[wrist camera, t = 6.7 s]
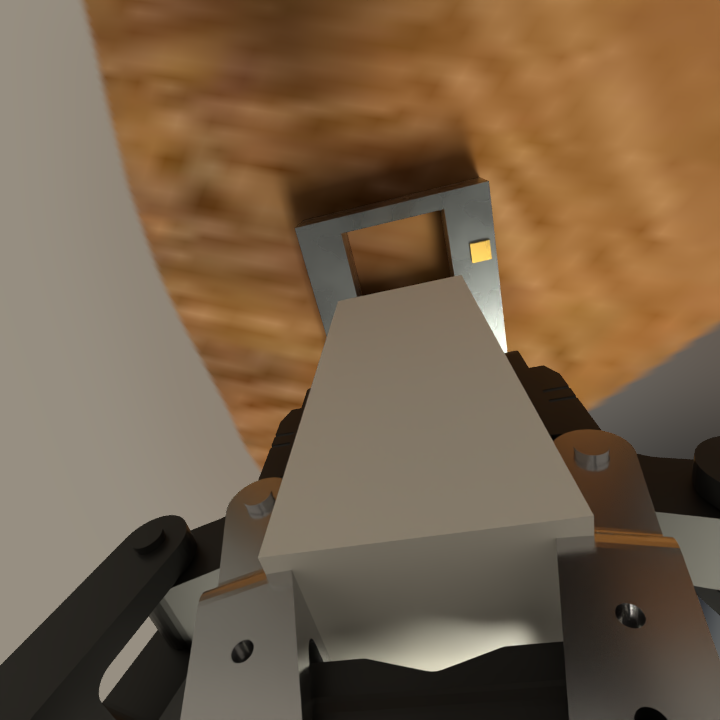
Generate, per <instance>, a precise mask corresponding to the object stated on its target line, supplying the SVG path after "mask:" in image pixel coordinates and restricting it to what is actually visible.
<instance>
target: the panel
mask: <svg viewBox="0 0 720 720" xmlns="http://www.w3.org/2000/svg"><path fill="white" fill-rule="evenodd" d="M438 210H440V211H441V218H442V224H443V230H444V237H445V243H446V250H447V256H448V263H449V269H450V276H451V277H454V276H458V275H462V277H463V279H464V281H465V282H466V284H467V286H468V288H469V290H470V291H471V293H472V295H473V297H474V299H475V301H476V302H477V304H478V306H479V308H480V310H481V311H482V313H483V315H484V317H485V319H486V321H487V322H488V324H489V326H490V328H491V330H492V331H493V333H494V335H495V337H496V339H497V341H498V342H499V344H500V346H501V348H502V350H503V351H504V353H507V346H506V337H505V327H504V318H503V309H502V299H501V290H500V281H499V271H498V262H497V253H496V244H495V234H494V225H493V216H492V206H491V197H490V188H489V181H487V180H485V179H482V178H480V177H479V178H475V179H470V180H466V181H462V182H458V183H454V184H450V185H446V186H442V187H438V188H434V189H430V190H426V191H422V192H417V193H413V194H409V195H405V196H401V197H397V198H393V199H389V200H385V201H381V202H377V203H373V204H369V205H364V206H360V207H356V208H352V209H348V210H344V211H340V212H336V213H332V214H328V215H324V216H320V217H316V218H311V219H307V220H303V221H302V222H301V223H300V224H299V225H298V226H297V227H296V228H295V230H296V234H297V237H298V241H299V244H300V247H301V251H302V254H303V258H304V261H305V264H306V268H307V271H308V275H309V278H310V281H311V285H312V288H313V292H314V295H315V298H316V302H317V305H318V309H319V312H320V315H321V319H322V322H323V326H324V329H325V332H326V336H327V335H328V332H329V329H330V326H331V322H332V319H333V316H334V313H335V310H336V306H337V303H338V301H341V300H346V299H350V298H355V297H360V296H362V291H361V287H360V283H359V279H358V275H357V271H356V267H355V263H354V259H353V255H352V251H351V247H350V243H349V239H348V235H347V232H349V231H354V230H358V229H362V228H366V227H371V226H375V225H379V224H383V223H387V222H392V221H396V220H400V219H404V218H408V217H413V216H417V215H421V214H425V213H429V212H434V211H438Z"/></svg>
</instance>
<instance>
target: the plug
mask: <svg viewBox="0 0 720 720" xmlns="http://www.w3.org/2000/svg"><path fill="white" fill-rule="evenodd" d="M579 536H594V515H593V513H592V511H591V509H590V508H589V506H588V504H587V502H586V500H585V499H584V497H583V495H582V493H581V491H580V489H579V488H578V486H577V484H576V482H575V480H574V479H573V477H572V475H571V473H570V471H569V470H568V468H567V466H566V464H565V462H564V460H563V459H562V457H561V455H560V453H559V451H558V450H557V448H556V446H555V444H554V442H553V440H552V439H551V437H550V435H549V433H548V431H547V430H546V428H545V426H544V424H543V422H542V420H541V419H540V417H539V415H538V413H537V411H536V410H535V408H534V406H533V404H532V402H531V400H530V399H529V397H528V395H527V393H526V391H525V390H524V388H523V386H522V384H521V382H520V380H519V379H518V377H517V375H516V373H515V371H514V370H513V368H512V366H511V364H510V362H509V361H508V359H507V357H506V355H505V353H504V351H503V350H502V348H501V346H500V344H499V342H498V341H497V339H496V337H495V335H494V333H493V331H492V330H491V328H490V326H489V324H488V322H487V321H486V319H485V317H484V315H483V313H482V311H481V310H480V308H479V306H478V304H477V302H476V301H475V299H474V297H473V295H472V293H471V291H470V290H469V288H468V286H467V284H466V282H465V281H464V279H463V277H462V275H458V276H454V277H449V278H444V279H440V280H435V281H430V282H426V283H421V284H416V285H412V286H407V287H402V288H397V289H393V290H388V291H383V292H379V293H374V294H369V295H365V296H360V297H355V298H350V299H346V300H341V301H338V303H337V306H336V310H335V313H334V316H333V319H332V322H331V326H330V329H329V332H328V335H327V338H326V342H325V345H324V348H323V351H322V354H321V358H320V361H319V364H318V367H317V370H316V374H315V377H314V380H313V383H312V386H311V390H310V393H309V396H308V399H307V402H306V406H305V409H304V412H303V415H302V418H301V422H300V425H299V428H298V431H297V434H296V438H295V441H294V444H293V447H292V450H291V454H290V457H289V460H288V463H287V466H286V470H285V473H284V476H283V479H282V482H281V486H280V489H279V492H278V495H277V498H276V501H275V505H274V508H273V511H272V514H271V517H270V521H269V524H268V527H267V530H266V533H265V537H264V540H263V543H262V546H261V549H260V553H259V556H258V559H259V561H260V563H261V565H262V568H263V570H264V572H265V574H271V573H277V572H283V571H289V570H292V572H293V574H294V576H295V578H296V581H297V583H298V585H299V588H300V590H301V592H302V594H303V597H304V599H305V601H306V604H307V606H308V608H309V611H310V613H311V615H312V617H313V620H314V622H315V624H316V627H317V629H318V631H319V633H320V636H321V638H322V640H323V643H324V645H325V647H326V650H327V652H328V654H329V656H330V659H331V661H339V660H351V659H363V658H365V659H370V660H375V661H380V662H385V663H390V664H395V665H400V666H405V667H410V668H415V669H420V670H424V671H439V670H443V669H445V668H448V667H451V666H453V665H456V664H459V663H461V662H464V661H467V660H469V659H472V658H475V657H477V656H480V655H483V654H485V653H488V652H491V651H493V650H496V649H499V648H501V647H504V646H514V645H526V644H538V643H549V642H561V641H563V633H562V618H561V604H560V590H559V576H558V562H557V548H556V538H566V537H579Z"/></svg>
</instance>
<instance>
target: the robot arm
mask: <svg viewBox="0 0 720 720" xmlns="http://www.w3.org/2000/svg"><path fill="white" fill-rule="evenodd" d="M505 355H506V357H507V359H508V361H509V362H510V364H511V366H512V368H513V370H514V371H515V373H516V375H517V377H518V379H519V380H520V382H521V384H522V386H523V388H524V390H525V391H526V393H527V395H528V397H529V399H530V400H531V402H532V404H533V406H534V408H535V410H536V411H537V413H538V415H539V417H540V419H541V420H542V422H543V424H544V426H545V428H546V430H547V431H548V433H549V435H550V437H551V439H552V440H553V442H554V444H555V446H556V448H557V450H558V451H559V453H560V455H561V457H562V459H563V460H564V462H565V464H566V466H567V468H568V470H569V471H570V473H571V475H572V477H573V479H574V480H575V482H576V484H577V486H578V488H579V489H580V491H581V493H582V495H583V497H584V499H585V500H586V502H587V504H588V506H589V508H590V509H591V511H592V513H593V515H594V536H579V537H566V538H556V548H557V562H558V576H559V590H560V604H561V618H562V633H563V641H561V642H549V643H538V644H526V645H514V646H504V647H501V648H499V649H496V650H493V651H491V652H488V653H485V654H483V655H480V656H477V657H475V658H472V659H469V660H467V661H464V662H461V663H459V664H456V665H453V666H451V667H448V668H445V669H443V670H439V671H424V670H420V669H415V668H410V667H405V666H400V665H395V664H390V663H385V662H380V661H375V660H370V659H365V658H363V659H351V660H339V661H331V659H330V656H329V654H328V652H327V650H326V647H325V645H324V643H323V640H322V638H321V636H320V633H319V631H318V629H317V627H316V624H315V622H314V620H313V617H312V615H311V613H310V611H309V608H308V606H307V604H306V601H305V599H304V597H303V594H302V592H301V590H300V588H299V585H298V583H297V581H296V578H295V576H294V574H293V572H292V570H289V571H283V572H277V573H271V574H265V572H264V570H263V568H262V565H261V563H260V561H259V559H258V556H259V553H260V549H261V546H262V543H263V540H264V537H265V533H266V530H267V527H268V524H269V521H270V517H271V514H272V511H273V508H274V505H275V501H276V498H277V495H278V492H279V489H280V486H281V482H282V479H283V476H284V473H285V470H286V466H287V463H288V460H289V457H290V454H291V450H292V447H293V444H294V441H295V438H296V434H297V431H298V428H299V425H300V422H301V418H302V415H303V412H304V409H305V406H306V402H307V399H308V396H309V393H310V390H311V388H310V389H308V390H307V393H306V396H305V399H304V402H303V405H302V408H300V409H294V410H292V411H291V412H290V413H289V414H288V415H287V416H286V417H285V418H284V419H283V420H282V421H281V422H280V425H279V428H278V430H277V433H276V437H275V438H274V441H273V443H272V448H271V449H270V451H269V454H268V456H267V459H266V462H265V464H264V467H263V469H262V472H261V475H260V477H259V480H258V481H256V482H254V483H251V484H249V485H248V486H246V487H245V488H243V489H242V490H241V491H239V492H238V493H237V494H236V495H235V496H234V497H233V499H232V500H231V501H230V503H229V505H228V507H227V511H226V516H225V517H223V518H221V519H219V520H217V521H214V522H211V523H209V524H206V525H203V526H201V527H198V528H196V529H193V530H191V531H190V529H189V527H188V525H187V524H186V522H185V520H184V519H183V518H181V517H179V516H175V515H169V516H163V517H159V518H156V519H154V520H151V521H149V522H147V523H146V524H144V525H142V526H141V527H139V528H138V529H136V530H135V531H134V532H132V533H131V534H130V535H129V536H128V537H127V538H126V539H125V540H124V541H123V542H122V543H121V544H120V545H119V546H118V547H117V548H116V549H115V550H114V551H113V552H112V553H111V554H110V555H109V556H108V557H107V558H106V559H105V560H104V561H103V562H102V563H101V564H100V565H99V566H98V567H97V568H96V569H95V570H94V571H93V573H91V574H90V575H89V577H87V578H86V579H85V581H84V582H82V584H80V586H78V587H77V589H76V590H75V591H74V592H73V593H72V594H71V595H70V596H69V597H68V598H67V599H66V600H65V601H64V602H63V603H62V604H61V605H60V606H59V607H58V608H57V609H56V610H55V611H54V612H53V613H52V614H51V615H50V616H49V617H48V618H47V619H46V620H45V621H44V622H43V623H42V624H41V625H40V626H39V627H38V628H37V629H36V630H35V631H34V632H33V633H32V634H31V635H30V636H29V637H28V638H27V639H26V640H25V641H24V642H23V643H22V644H21V645H20V646H19V647H18V648H17V649H16V650H15V651H14V652H13V653H12V654H11V655H10V656H9V657H8V658H7V659H6V660H5V661H4V662H3V664H1V665H0V720H720V659H719V656H718V654H717V651H716V648H715V645H714V642H713V640H712V637H711V634H710V631H709V628H708V625H707V623H706V620H705V617H704V614H703V611H702V608H701V605H700V603H699V600H698V597H697V595H698V596H699V597H700V598H701V599H702V600H703V601H704V602H705V603H706V604H708V605H709V606H710V607H711V608H712V609H713V610H714V611H716V612H717V613H718V614H719V615H720V436H719V437H713V438H710V439H707V440H705V441H703V442H702V443H700V444H699V445H698V446H697V448H696V449H695V453H694V460H690V459H674V458H673V459H672V458H658V457H650V456H644V455H640V454H636V451H635V449H634V448H633V447H632V445H631V444H630V443H628V442H627V441H626V440H624V439H623V438H621V437H619V436H617V435H615V434H612V433H609V432H605V431H601V429H600V428H599V426H598V425H597V424H596V422H595V421H594V420H593V418H592V417H591V416H590V414H589V413H588V412H587V410H586V409H585V407H584V406H583V405H582V403H581V402H580V401H579V399H578V398H576V395H575V394H574V393H573V391H572V390H571V388H569V387H568V384H567V383H566V382H565V380H564V379H563V378H562V376H561V375H560V374H559V373H557V372H555V371H553V370H551V369H549V368H547V367H545V366H544V365H543V366H538V367H532V368H528V366H527V364H526V363H525V361H524V360H523V358H522V356H521V355H520V353H519V352H518V351H512V352H507V353H505ZM148 616H149V617H150V619H151V620H152V622H153V623H154V625H155V626H156V628H157V629H158V630H157V632H156V633H155V634H154V636H153V637H152V638H151V640H150V641H149V642H148V643H147V645H146V646H145V647H144V649H143V650H142V651H141V653H140V654H139V655H138V657H137V658H136V659H135V661H134V662H133V663H132V665H131V666H130V667H129V669H128V670H127V671H126V672H125V674H124V675H123V677H122V678H121V679H120V681H119V682H118V683H117V684H116V686H115V687H114V688H113V690H112V691H111V692H110V694H109V695H108V696H107V697H106V699H105V700H104V701H103V703H101V701H100V699H99V686H100V682H101V679H102V677H103V675H104V673H105V671H106V669H107V668H108V667H109V665H110V664H111V663H112V661H113V660H114V659H115V658H116V656H117V655H118V654H119V653H120V651H121V650H122V649H123V648H124V646H125V645H126V644H127V643H128V641H129V640H130V639H131V638H132V636H133V635H134V634H135V633H136V631H137V630H138V629H139V628H140V626H141V625H142V624H143V623H144V621H145V620H146V619H147V618H148Z"/></svg>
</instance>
